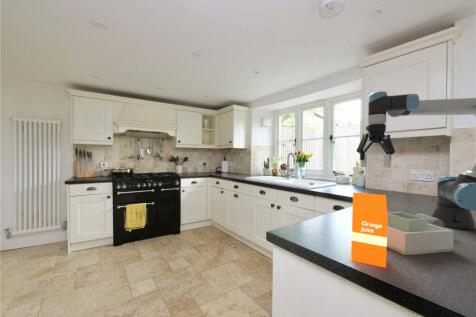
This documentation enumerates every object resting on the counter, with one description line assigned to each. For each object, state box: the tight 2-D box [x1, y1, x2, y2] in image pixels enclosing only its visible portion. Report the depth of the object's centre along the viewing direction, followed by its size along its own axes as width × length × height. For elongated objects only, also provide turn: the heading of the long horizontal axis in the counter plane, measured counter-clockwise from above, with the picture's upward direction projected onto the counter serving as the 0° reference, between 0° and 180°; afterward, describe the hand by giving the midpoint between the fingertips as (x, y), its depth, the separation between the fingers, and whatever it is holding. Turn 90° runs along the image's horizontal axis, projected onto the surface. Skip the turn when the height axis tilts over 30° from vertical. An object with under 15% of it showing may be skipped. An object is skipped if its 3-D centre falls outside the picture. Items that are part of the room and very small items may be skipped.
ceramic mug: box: [414, 212, 445, 228], centre depth 91 cm, size 11×8×8 cm
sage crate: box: [387, 211, 428, 232], centre depth 80 cm, size 8×10×9 cm
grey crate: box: [387, 223, 455, 256], centre depth 80 cm, size 20×18×7 cm
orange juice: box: [350, 192, 388, 268], centre depth 66 cm, size 8×9×20 cm
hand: (375, 167), depth 106 cm, fingers open, 13 cm apart
